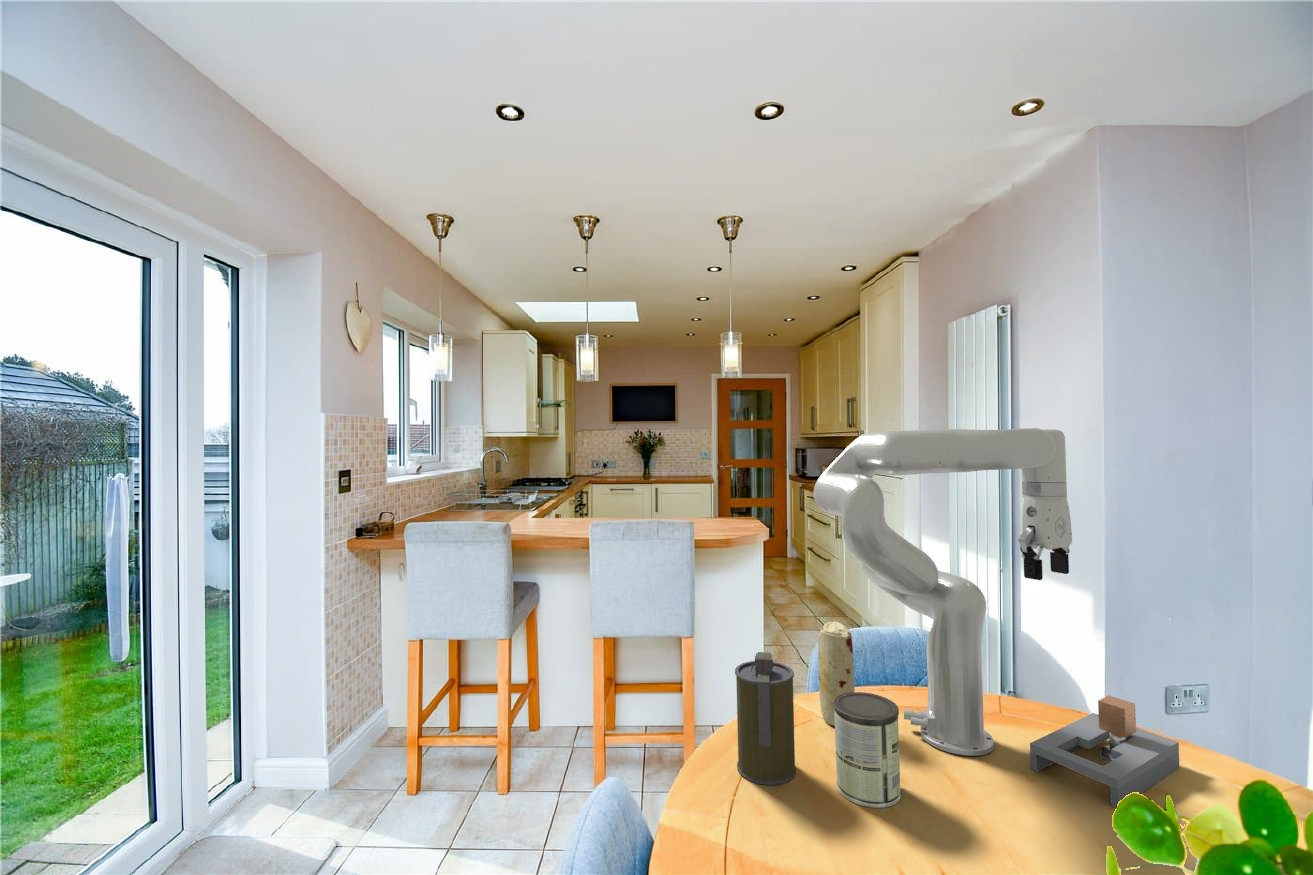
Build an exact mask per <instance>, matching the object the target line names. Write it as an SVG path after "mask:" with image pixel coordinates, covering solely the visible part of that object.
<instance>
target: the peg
mask: <svg viewBox="0 0 1313 875" xmlns="http://www.w3.org/2000/svg"><path fill="white" fill-rule="evenodd" d="M1097 704H1098V707H1097V708H1098V710H1097V711H1098V715H1099V729H1102V730H1105V731H1107V732H1109V739H1108V741H1109V743H1108V744H1109V745H1103V746H1101V747H1100V758H1102V759H1101V760H1102V761H1103V762H1104V763H1106V764H1107V763H1109V762H1111V761H1113V760H1114V759H1112V758H1111V749H1113V748H1114V747H1116V746H1118V745H1120V744H1122V743H1123V742H1125V741H1126V738H1127V737H1128V736H1130V735H1132V734H1134V733H1135V732H1136V728H1137V721H1136V720H1137V717H1136V703H1135V702H1132V701H1128V700H1125V699H1121V698H1118V697H1116V696H1113V695H1112V696H1111V695H1107V696H1105V697H1102V698H1100V699H1098V701H1097Z"/></svg>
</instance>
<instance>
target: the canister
mask: <svg viewBox="0 0 1313 875" xmlns="http://www.w3.org/2000/svg"><path fill="white" fill-rule="evenodd" d="M734 674H735V676H736V677H735V678H736V681H735V682H736V715H737V716H736V718H737V752H738V753H737V755H738V756H737V757H738V761H737V762H736V768H737V771H738V773H739V774H740V775H741V776H742V777H743V778H745V779H746V780H748V781H750V782H753V783H756V784H759V785H766V786H781V785H782V784H786V783H789V782H790V781H791V780H793V779H794V778H795V776H796V774H797V766H796V758H795V757H796V754H795V752H796V749H795V748H796V747H795V716H794V713H795V712H794V711H795V710H794V708H795V707H794V677H795V672H794V670H793V669H792V668H791V667H790V666H788V665H786V664H784V663H780V662H777V661H774V659H773V654H772V653H771V652H766V651H765V652H764V651H762V652H761V651H758V652H756V653H755V655H754V660H749V661H746V662H742V663H740V664H739V665H737V666H736V668H734Z"/></svg>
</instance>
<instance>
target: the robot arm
mask: <svg viewBox="0 0 1313 875" xmlns="http://www.w3.org/2000/svg"><path fill="white" fill-rule="evenodd" d="M1066 451H1067V450H1066V436H1065V433H1064V432H1063V431H1062V430H1060V429H1041V428H1037V427H1036V428H1035V427H1030V428H1024V427H1023V428H1008V429H1007V428H1005V429H1004V428H1003V429H968V428H966V429H965V428H964V429H963V428H943V429H942V428H941V429H939V428H938V429H918V430H917V429H916V430H915V429H913V430H891V431H876V432H875V431H873V432H866V433H863V434H861V435H859V436H858V437H856V438H855V439H854V440H853V441H852V442H851V443H849V445H848V446H847V447H846V448H845V449H844V450H843V451H842V452H841V453H840V454H839V455H838V457H836V458H835V460H833V462H832V463H831V464H830V465H829V466H828V467H827V468H826V469H825V470H824V471H823V472H822V474H821V475H820V476H819V477H818V479H817V480H816V482H815V484H814V487H813V499H814V502H815V504H816V505H817V506H818V508H819V509H820V510H822V511H823V512H825V513H827V514H829V515H832V516H838V517H841V518H842V523H841V524H842V535H843V539H844V543H845V546H846V548H847V550H848V551H849V553H850V554H851V555H852V556H853V557H854V558H855V559H856V560H858V561H859V562H860V563H861V565H862V569H863V572H864V573H865V576H866V577H867V579H868V580H870V581H871V582H872V583H873V584H874V585H876V586H877V587H878V588H880V589H881V590H882V591H884V592H885V593H887V594H889V595H890V596H891V597H893V598H894V599H895V600H897V601H898V602H900V603H902V604H903V605H905V606H906V607H908V608H909V609H911V610H913V611H915V612H917V613H919V614H921V615H923V616H926V617H928V618H930V619H932V620H933V623H932V626H931V628H930V630H929V632H928V635H927V639H926V666H927V667H926V670H927V671H926V673H927V676H926V677H927V705H926V706H925V710H922V709H920V711H916V710H913V709H906V708H904V709H903V720H904V721H905V720H906V721H910V726H917V727H918V726H920V735H921V738H922V739H923V740H924V741H926V743H928V744H929V745H930V746H933V748H936V749H939V750H940V751H943V752H947V753H950V754H953V755H959V756H965V757H966V756H967V757H978V756H984V755H987V754H989V753H990V752H992V751H993V750H994V747H995V744H994V741H995V740H994V738H993V736H992V735H991V734H990V733H989V732H988V731H986V730H984V729H985V727H984V726H985V725H984V695H983V694H984V693H983V690H984V688H983V686H984V685H983V661H982V660H983V656H982V644H983V643H982V641H983V638H982V637H983V629H984V624H985V618H986V613H987V601H986V598H985V595H984V593H983V591H982V589H980V588H979V587H978V586H977V585H976V584H975V583H974V582H972V581H970V580H969V579H967V578H965V577H962V576H958V575H957V574H952V573H950V572H947V571H946V572H945V571H942V570H939V569H938V567H937V565H936V563H935V562H934V560H933V559H932V557H930V556H929V555H928V554H927V553H926V552H925V551H923V550H922V549H920V548H919V547H917V546H916V545H914V544H913V543H911V542H910V541H909V540H907V539H905V538H904V537H902V536H901V535H900V534H898V533H897V532H896V531H895V530H893V529H892V528H891V527H890V526H889V524H888V523H887V522H886V518H885V498H884V497H885V496H884V493H883V491H882V489H881V487H880V485H879V484H878V483H877V482H876V481H875V480H874V479H873V478H874V476H875V475H884V476H907V475H908V476H910V475H921V474H922V475H924V474H925V475H926V474H947V473H969V472H970V473H972V472H980V471H995V470H996V471H999V470H1020V469H1021V491H1022V494H1021V496H1022V499H1023V504H1022V514H1021V516H1022V517H1021V534H1020V535H1019V537H1018V538H1017V541H1018V544H1019V548H1020V552H1021V558H1022V559H1023V577H1024V578H1026V579H1030V580H1035V581H1042V580H1043V577H1044V576H1043V574H1044V573H1043V560H1042V559H1040V558H1041V556H1042V553H1043V551H1044V549H1045V550H1049V551H1050V552H1049V558H1050V560H1049V561H1050V562H1049V563H1050V572H1052V573H1057V574H1064V575H1068V574H1069V573H1070V565H1069V562H1070V561H1069V559H1070V558H1069V554H1070V548H1069V547H1070V546H1071V544H1072V543H1073V530H1072V521H1071V520H1072V519H1071V512H1070V511H1071V510H1070V506H1069V502H1068V487H1067V486H1068V482H1067V462H1066V460H1067V458H1066V457H1067V455H1066Z"/></svg>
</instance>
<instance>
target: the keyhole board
mask: <svg viewBox="0 0 1313 875" xmlns="http://www.w3.org/2000/svg"><path fill="white" fill-rule="evenodd" d="M1107 740H1109V732H1107V731H1105V730H1102V729H1099V713H1095V712H1092V713H1090V714H1088V715H1086V716H1084V717H1081V718H1080V719H1077V720H1075V721H1073V722H1071V723H1069V724H1067V725H1065V726H1063V727H1060V728H1058V729H1056V730H1054V731H1053V732H1050V733H1048V734H1047V735H1044V736H1042V737H1040V738H1038V739H1036V740H1034V741H1032V742H1030V743H1029V757H1030V760H1029V761H1030V770H1031V771H1034V772H1039V771H1041V770H1043V769H1045V768H1046V767H1049V766H1050V765H1053V764H1054V763H1055V764H1058V765H1060V766H1062V767H1065V768H1067V769H1068V770H1069V769H1070V770H1071V771H1074V772H1076V773H1078V774H1081V775H1083V776H1085V777H1087V778H1090V779H1092V780H1095V781H1098V782H1099V783H1103V784H1104V785H1107V786H1109V787H1110V789H1109V790H1110V807H1111V806H1112V807H1114V808H1116V807H1117V804H1118V802H1119V801H1120V800H1122V799H1123V798H1124V797H1125V796H1126V795H1128V794H1130V793H1132V792H1139V793H1141V794H1143V793H1144V792H1146V791H1147V790H1149V789H1150V788H1152V787H1153V786H1155V785H1156V784H1158V783H1159V782H1161V781H1162V780H1164V779H1166V777H1168V776H1170V775H1171V774H1173V773H1175V772H1176V771H1177V770H1179V769H1180V744H1179V741H1178V740H1174V739H1171V738H1168V737H1166V736H1162V735H1160V734H1156V733H1154V732H1150V731H1149V730H1145V729H1142V728H1138V727H1136V732H1135V733H1134V734H1132V735H1130V736H1128V737H1127V738H1126V741H1125V742H1123V743H1122V744H1120V745H1118V746H1116V747H1114V748H1113V749H1111V758H1112V759H1114V760H1113V761H1111V762H1109V763H1106V764H1105V765H1102V764H1099V763H1096V762H1095V761H1092V760H1090V759H1087V758H1084V757H1082V756H1079V755H1076V754H1075V752H1077V751H1079V750H1081V749H1083V748H1085V749H1087V750H1091V749H1092V748H1094V747H1096V746H1098V745H1099V744H1101V743H1103V742H1105V741H1107Z"/></svg>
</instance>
